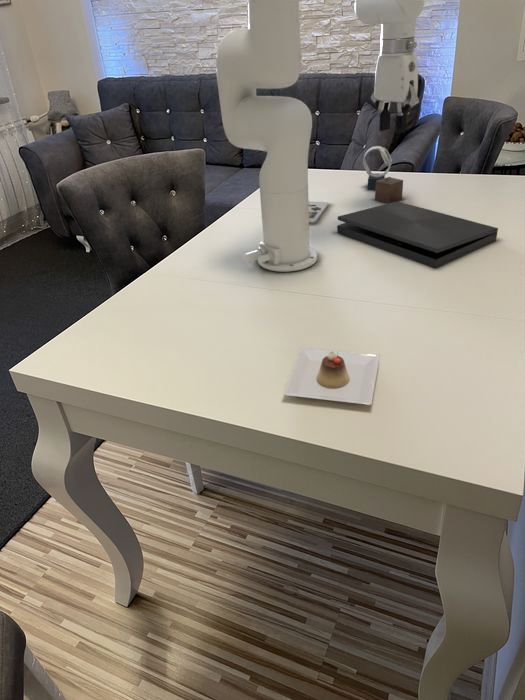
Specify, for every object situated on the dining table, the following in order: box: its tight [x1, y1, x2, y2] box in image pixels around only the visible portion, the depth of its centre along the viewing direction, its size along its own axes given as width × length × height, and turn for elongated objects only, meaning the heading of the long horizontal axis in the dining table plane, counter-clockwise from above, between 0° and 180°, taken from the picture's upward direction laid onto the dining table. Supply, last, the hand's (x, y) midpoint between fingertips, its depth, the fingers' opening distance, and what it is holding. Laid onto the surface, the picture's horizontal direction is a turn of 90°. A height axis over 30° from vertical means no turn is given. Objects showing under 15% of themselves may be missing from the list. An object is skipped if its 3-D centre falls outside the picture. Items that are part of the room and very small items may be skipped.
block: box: [374, 176, 404, 204], centre depth 141 cm, size 5×5×5 cm
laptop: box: [336, 222, 498, 269], centre depth 119 cm, size 20×28×2 cm
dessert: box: [281, 347, 381, 406], centre depth 75 cm, size 12×12×5 cm
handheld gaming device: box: [308, 200, 329, 225], centre depth 137 cm, size 9×1×15 cm
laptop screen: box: [336, 200, 499, 253], centre depth 118 cm, size 20×28×1 cm
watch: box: [362, 145, 393, 191], centre depth 149 cm, size 6×8×11 cm
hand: (392, 130), depth 133 cm, fingers open, 4 cm apart
